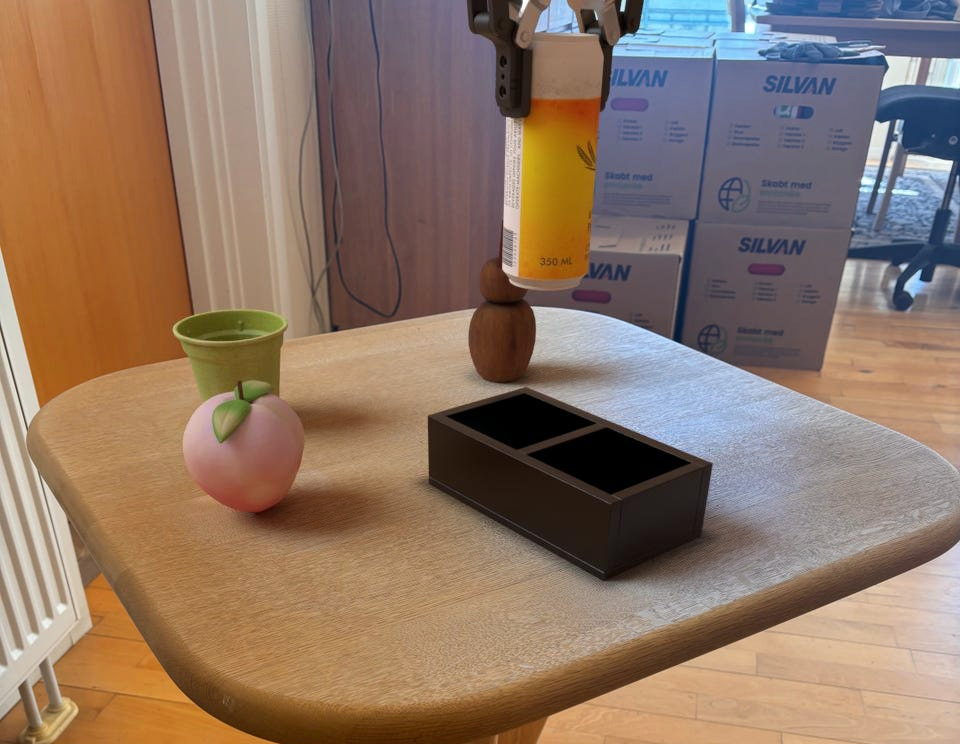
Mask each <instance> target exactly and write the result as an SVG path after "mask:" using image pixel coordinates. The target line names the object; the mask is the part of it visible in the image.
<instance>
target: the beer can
mask: <svg viewBox="0 0 960 744" xmlns="http://www.w3.org/2000/svg"><path fill="white" fill-rule="evenodd" d="M526 49H527V50H533V53H532V78H531V104H530V114H529V116H528V117H527V118H518V119H516V118H510V117H505V146H504V147H505V149H504V151H505V152H504V191H503V192H504V193H503V220H504V223H503V262H502V269H503V271H504V272H505V273H506V275H507V276H508V277H509V281H510V283H511V284H513V285H515V286H517V287H521V288H525V289H528V290H531V291H541V292H542V291H543V292H546V291H547V292H549V291H550V292H552V291H564V290H569V289H573V288H575V287H578V286H579V285H580V283H581V280H582V279H583V278H584V277H585V276H586V275H587V274H588V273H589V263H590V249H591V237H592V236H591V234H592V221H593V210H594V209H593V208H594V195H595V182H596V181H595V180H596V170H597V169H596V167H597V155H598V141H599V125H600V115H601V112H600V101H601V88H602V74H603V61H604V56H603V53H602V49H601V46H600V43H599V35H596V34H583V33H580V32H553V31H552V32H547V31H544V32H543V31H542V32H541V31H540V32H539V31H537V32H536V31H535V32H534V35H533V38H532V40H531V43H530V45H529V46H528V47H527V48H526Z"/></svg>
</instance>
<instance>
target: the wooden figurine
mask: <svg viewBox="0 0 960 744" xmlns="http://www.w3.org/2000/svg"><path fill="white" fill-rule="evenodd" d="M503 223H504V219H501V228H500V240H499V252H498V257H493V258H489V259H487V260H486V261H485V262H484V264H483V265H482V266H481V270H480V273H479V281H478V287H479V291H480V295H481V296H482V297H483V298H484V300H483V301H481V302H480V304H479V305H478V306H477V307H476V309H475V310H474V311H473V313H472V316H471V319H470V322H469V328H468V335H467V336H468V338H467V340H468V342H467V343H468V349H469V354H470V359H471V361H472V365H473V366H474V368H475V370H476V373H477V374H478V375H479V376H480V377H481V378H482V379H483V380H486V381H488V382H493V383H508V382H513V381H516V380H518V379H520V378H521V377H522V376H523V375H524V374H525V373H526V372H527V369H528V367H529V365H530V362H531V359H532V356H533V354H534V349H535V344H536V337H537V322H536V321H537V319H536V316H535V312H534V309H533V308H532V307H531V305H530V303H529V302H528V301H527V300H526V299H524V297H526V295H527V293H528V292H529V291H528V290H529V289H525V288H521V287H517V286H515V285H513V284H511V283H510V281H509V277H508V276H507V275H506V273H505V272H504V271H503V269H502V262H503Z"/></svg>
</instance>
